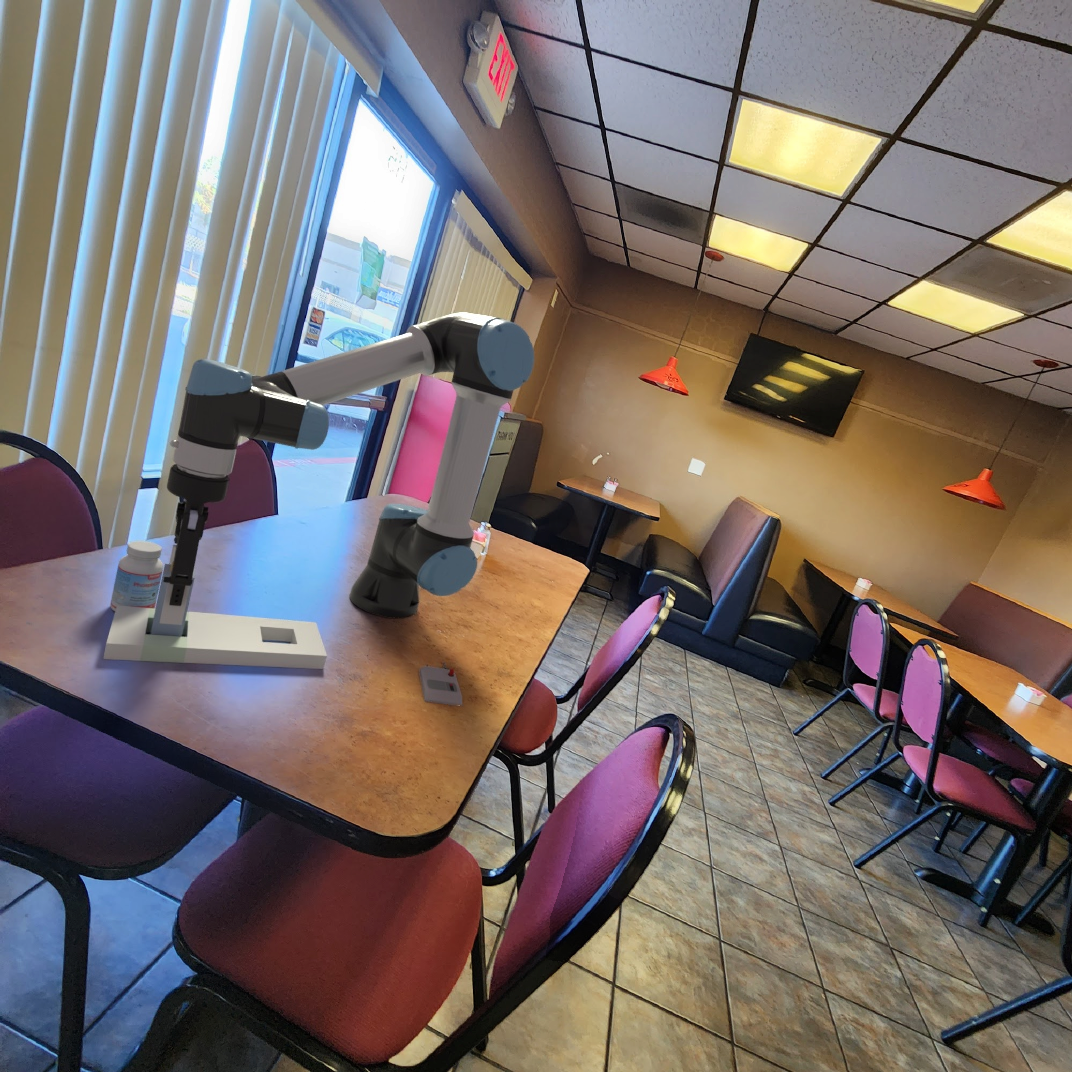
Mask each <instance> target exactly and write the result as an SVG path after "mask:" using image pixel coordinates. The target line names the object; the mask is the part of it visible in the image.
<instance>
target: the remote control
mask: <svg viewBox="0 0 1072 1072" xmlns="http://www.w3.org/2000/svg"><path fill="white" fill-rule="evenodd" d="M442 664H443V665H442V666H443V668H442V667H437V666H428V664H426V665H424V666H420V669H419V671H418V673H419V679H420V685H421V691H422V695H423V696H422V697H423V701H424V702H427V703H434V704H442V705H447V704H448V705H447V706H454V705H460V706H459V707H462V706H463V694H462V691H461V688H460V685H459V682H458V678H457V675H456V673H455V669H454V668H450V669H449V668H447V665H446V663H445V662H442Z"/></svg>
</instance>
